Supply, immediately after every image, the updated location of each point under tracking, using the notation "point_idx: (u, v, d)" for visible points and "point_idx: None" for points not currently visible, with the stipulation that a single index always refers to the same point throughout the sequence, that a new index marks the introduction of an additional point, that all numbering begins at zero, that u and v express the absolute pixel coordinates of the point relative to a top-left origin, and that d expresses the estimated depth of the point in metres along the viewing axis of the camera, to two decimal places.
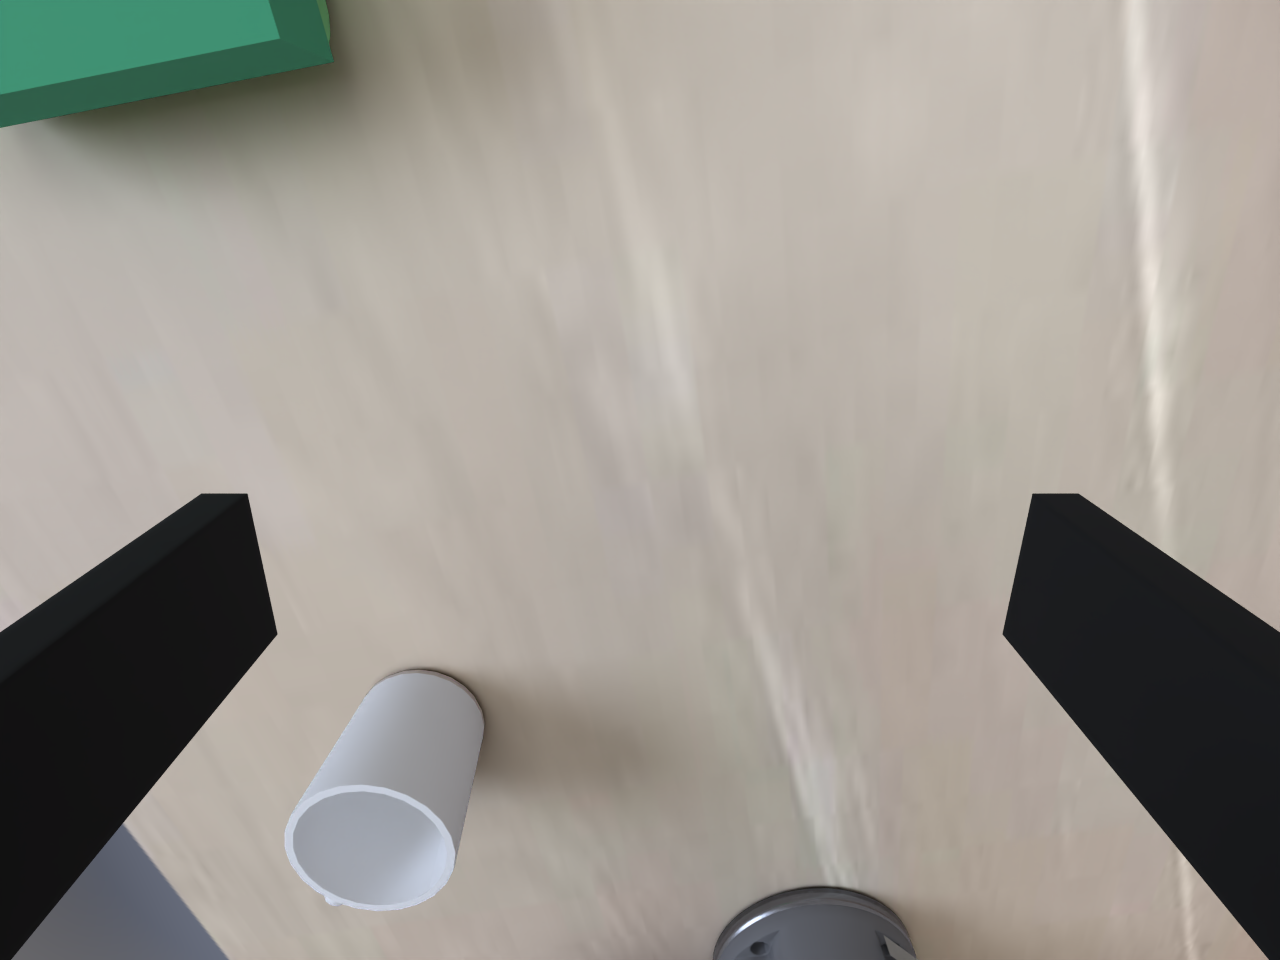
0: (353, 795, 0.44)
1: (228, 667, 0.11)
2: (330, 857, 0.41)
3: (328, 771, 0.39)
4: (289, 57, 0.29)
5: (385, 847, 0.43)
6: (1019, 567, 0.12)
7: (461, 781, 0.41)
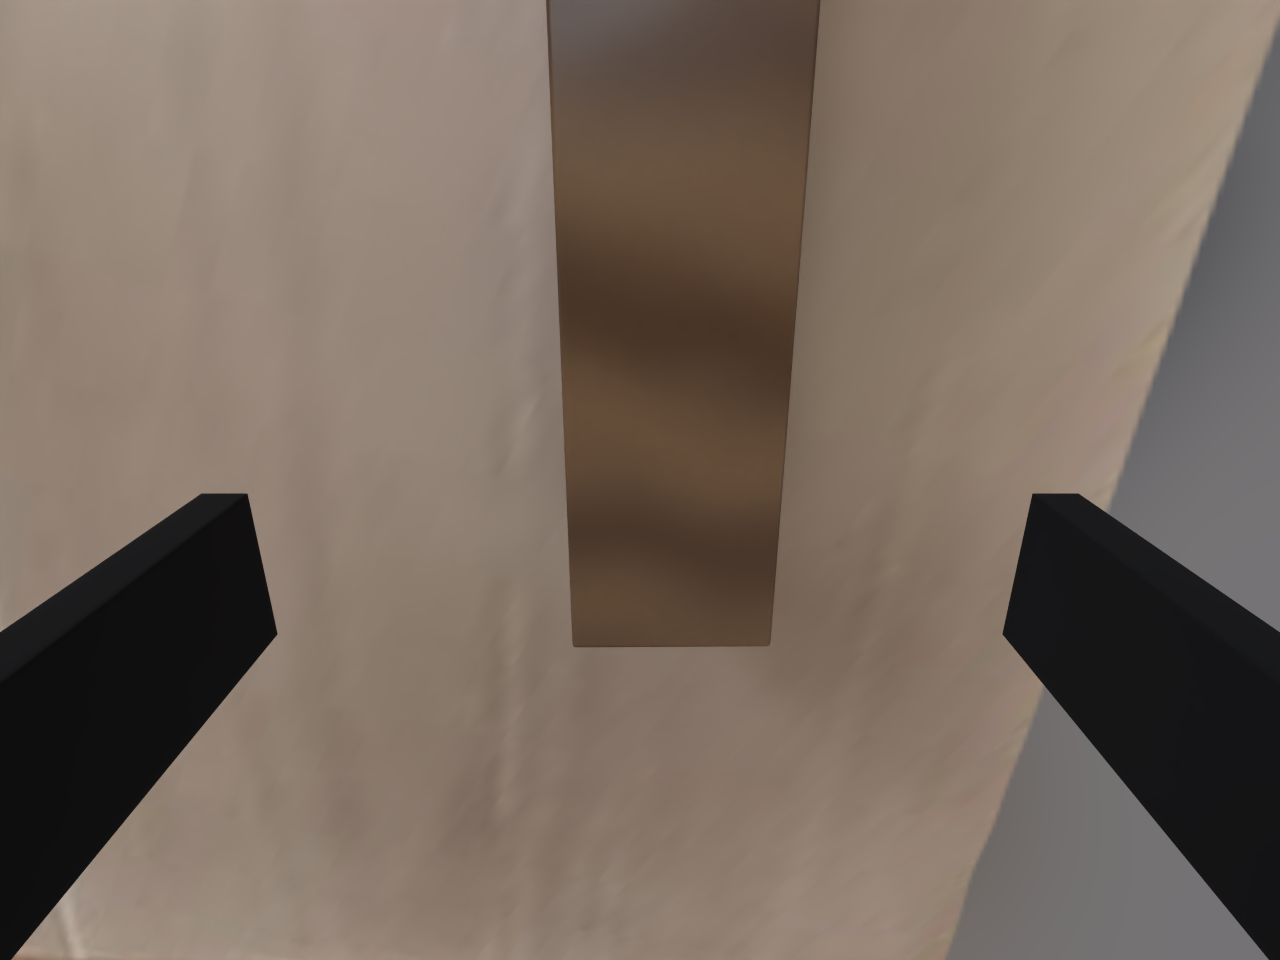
0: None
1: (228, 667, 0.11)
2: None
3: None
4: None
5: None
6: (1019, 567, 0.12)
7: None
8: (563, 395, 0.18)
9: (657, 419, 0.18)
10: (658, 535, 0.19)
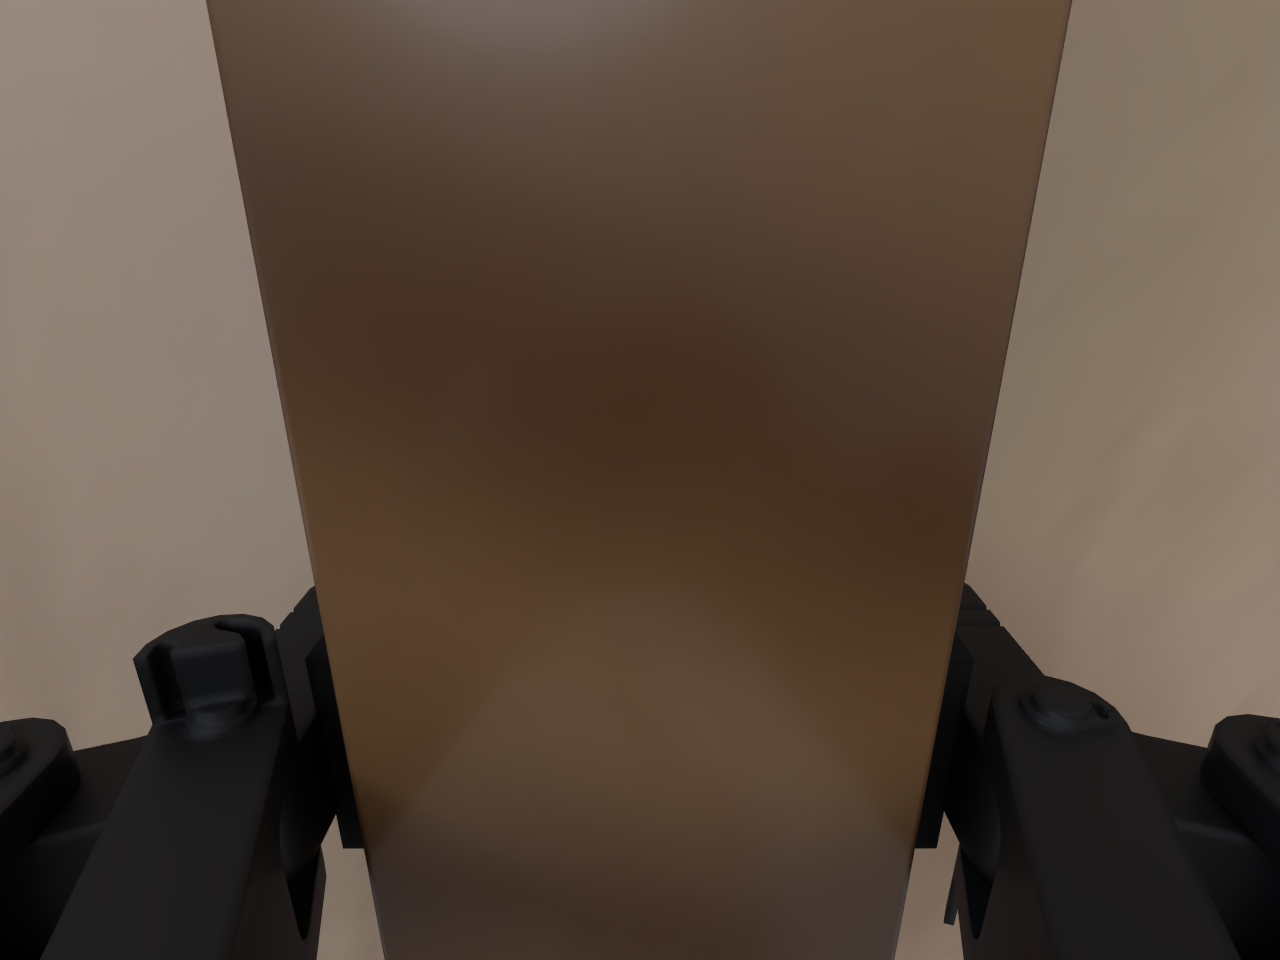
0: None
1: None
2: None
3: None
4: None
5: None
6: None
7: None
8: (312, 561, 0.06)
9: (587, 626, 0.06)
10: (598, 892, 0.08)
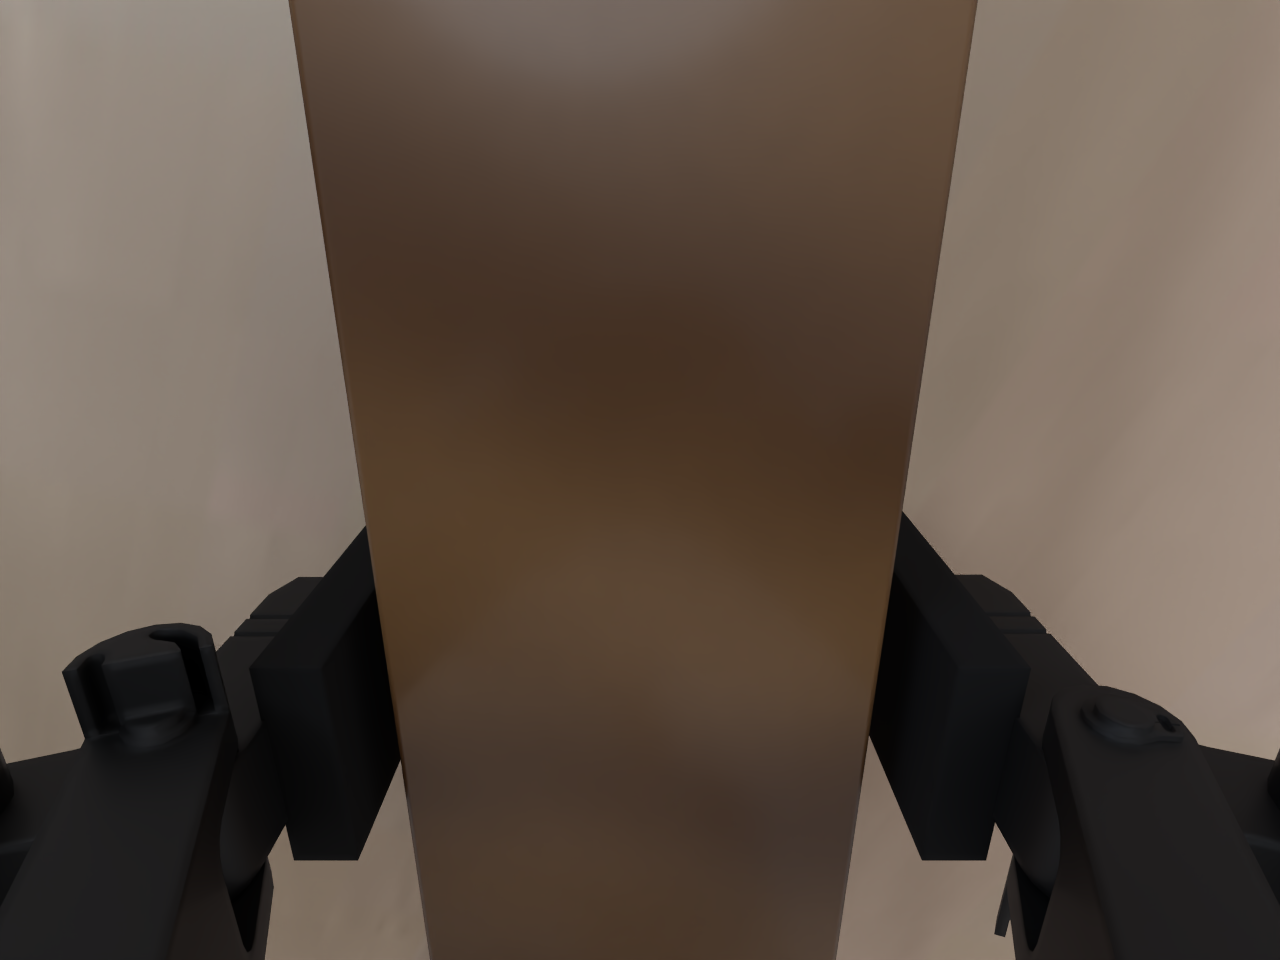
0: None
1: None
2: None
3: None
4: None
5: None
6: None
7: None
8: (360, 481, 0.07)
9: (590, 538, 0.08)
10: (597, 778, 0.09)
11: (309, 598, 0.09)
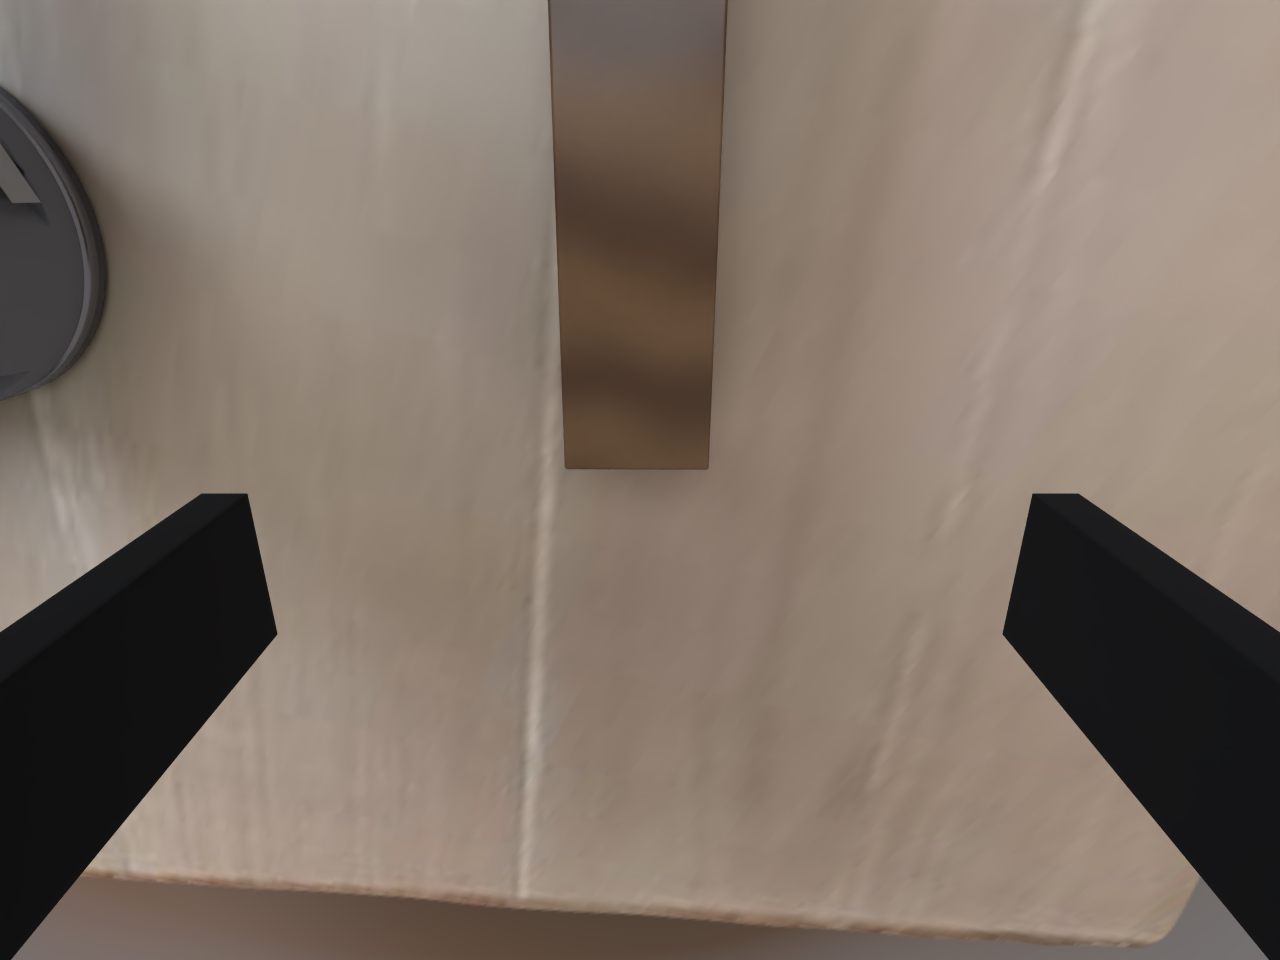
0: None
1: (228, 667, 0.11)
2: None
3: None
4: None
5: None
6: (1019, 567, 0.12)
7: None
8: (558, 274, 0.26)
9: (624, 292, 0.26)
10: (625, 381, 0.27)
11: None
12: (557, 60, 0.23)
